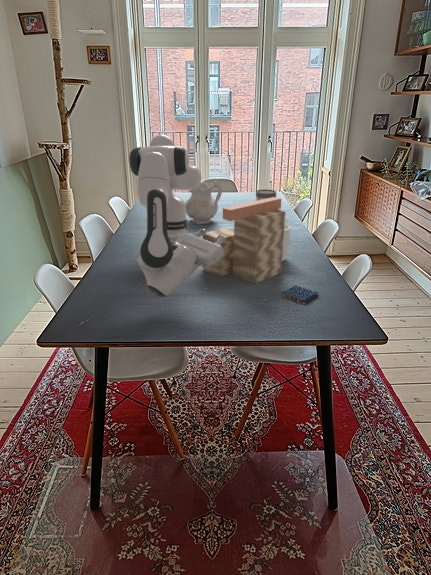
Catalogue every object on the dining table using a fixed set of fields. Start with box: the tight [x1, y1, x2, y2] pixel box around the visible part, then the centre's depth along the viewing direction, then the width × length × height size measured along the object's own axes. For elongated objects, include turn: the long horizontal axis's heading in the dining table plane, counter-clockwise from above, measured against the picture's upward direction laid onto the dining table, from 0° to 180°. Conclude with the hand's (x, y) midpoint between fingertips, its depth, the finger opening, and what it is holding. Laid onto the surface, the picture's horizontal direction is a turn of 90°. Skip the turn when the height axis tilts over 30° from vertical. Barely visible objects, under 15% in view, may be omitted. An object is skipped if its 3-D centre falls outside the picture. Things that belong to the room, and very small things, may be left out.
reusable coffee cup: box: [255, 189, 277, 201], centre depth 248 cm, size 12×13×15 cm
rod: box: [222, 196, 282, 222], centre depth 152 cm, size 28×4×4 cm, turn 132°
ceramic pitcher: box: [185, 179, 223, 225], centre depth 233 cm, size 22×20×25 cm
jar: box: [282, 224, 292, 262], centre depth 179 cm, size 11×10×15 cm
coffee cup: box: [167, 233, 180, 245], centre depth 177 cm, size 9×9×12 cm
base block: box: [202, 227, 234, 277], centre depth 167 cm, size 12×10×16 cm
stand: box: [232, 209, 287, 284], centre depth 161 cm, size 16×12×26 cm
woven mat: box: [280, 284, 320, 305], centre depth 148 cm, size 10×11×2 cm
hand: (213, 233), depth 142 cm, fingers open, 8 cm apart
